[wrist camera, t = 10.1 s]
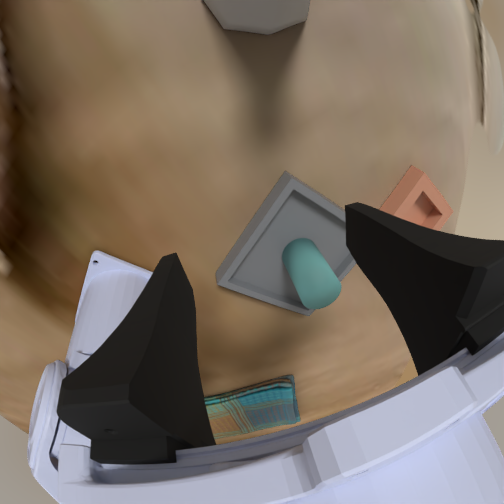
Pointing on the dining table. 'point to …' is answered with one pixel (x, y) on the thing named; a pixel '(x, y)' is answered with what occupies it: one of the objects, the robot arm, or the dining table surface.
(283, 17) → the flask
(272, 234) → the tray
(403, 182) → the salmon square dish
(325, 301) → the pin
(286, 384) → the dish towel
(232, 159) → the dining table surface
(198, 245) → the dining table surface
